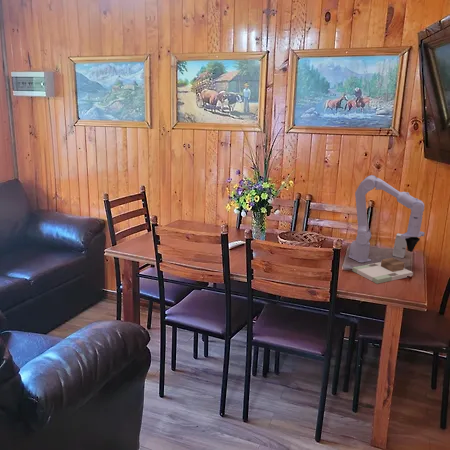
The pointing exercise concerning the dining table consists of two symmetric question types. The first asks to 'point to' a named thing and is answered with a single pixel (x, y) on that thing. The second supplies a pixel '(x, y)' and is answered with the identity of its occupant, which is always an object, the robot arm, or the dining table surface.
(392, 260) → the walnut block
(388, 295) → the dining table surface
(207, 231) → the dining table surface
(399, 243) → the skincare box
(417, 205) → the robot arm
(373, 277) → the board
